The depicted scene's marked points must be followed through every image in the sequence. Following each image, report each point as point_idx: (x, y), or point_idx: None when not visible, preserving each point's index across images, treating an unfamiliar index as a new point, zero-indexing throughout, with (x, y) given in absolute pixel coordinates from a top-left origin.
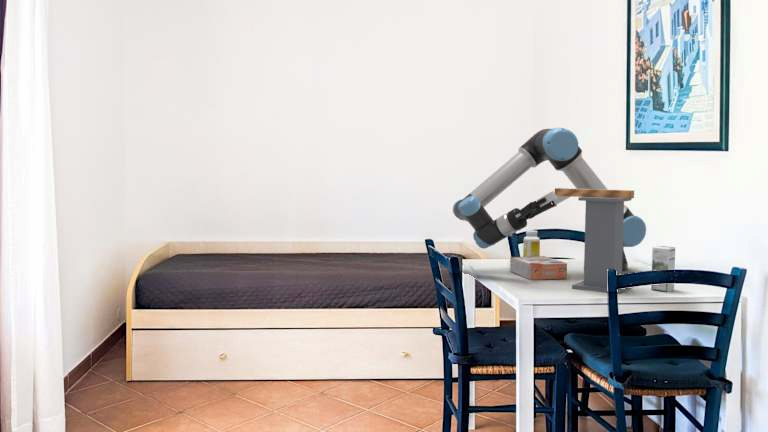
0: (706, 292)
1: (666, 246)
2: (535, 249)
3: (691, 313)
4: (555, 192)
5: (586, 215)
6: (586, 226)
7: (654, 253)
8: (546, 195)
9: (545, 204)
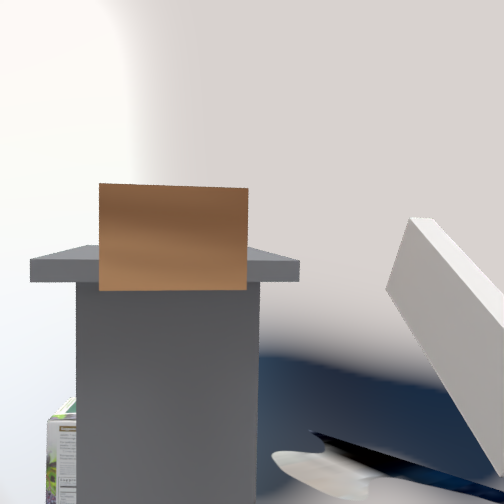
0: None
1: (75, 405)
2: None
3: (353, 447)
4: (246, 242)
5: (257, 370)
6: (254, 437)
7: None
8: (475, 278)
9: (465, 403)
